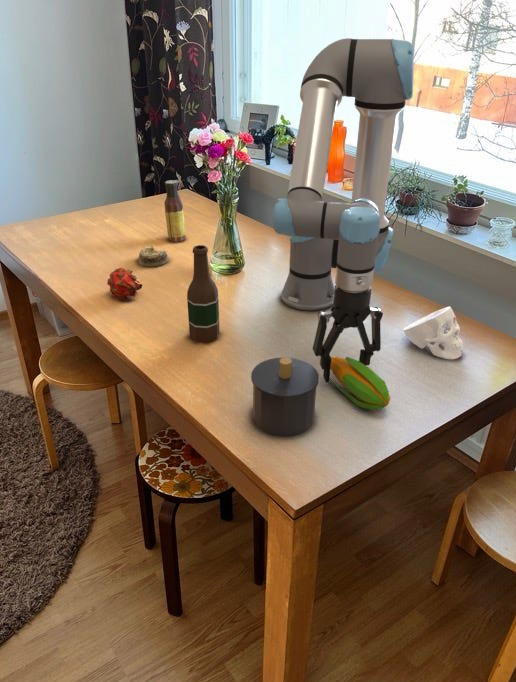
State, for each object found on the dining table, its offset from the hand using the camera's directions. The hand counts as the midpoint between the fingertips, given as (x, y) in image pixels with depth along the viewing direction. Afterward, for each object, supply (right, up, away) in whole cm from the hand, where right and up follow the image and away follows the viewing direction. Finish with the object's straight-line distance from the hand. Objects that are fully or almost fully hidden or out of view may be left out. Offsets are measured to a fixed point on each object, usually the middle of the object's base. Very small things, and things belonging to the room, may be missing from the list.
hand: (343, 377), depth 133 cm
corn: (+2, -4, -2) cm, 5 cm away
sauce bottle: (-48, +49, +72) cm, 100 cm away
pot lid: (-14, 0, -15) cm, 21 cm away
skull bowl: (+24, +8, +14) cm, 29 cm away
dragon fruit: (-57, +24, +37) cm, 72 cm away
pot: (-14, -8, -10) cm, 19 cm away
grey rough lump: (-53, +38, +57) cm, 87 cm away
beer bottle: (-33, +11, +18) cm, 39 cm away
